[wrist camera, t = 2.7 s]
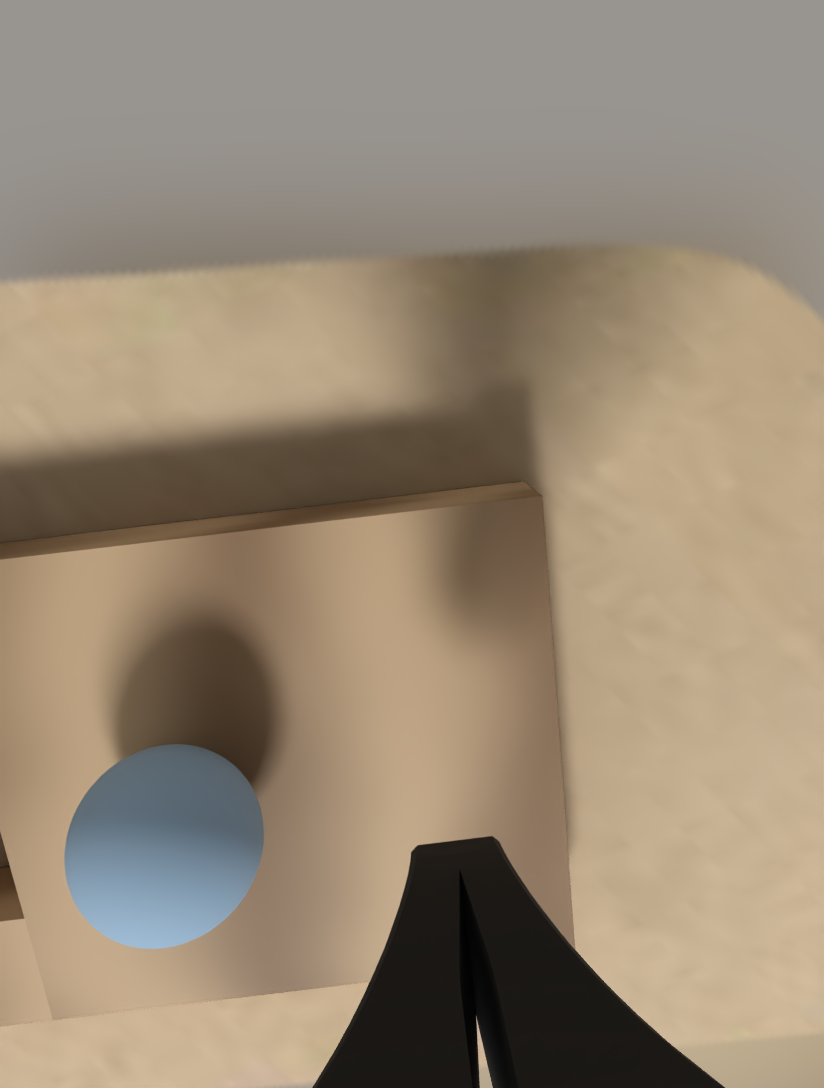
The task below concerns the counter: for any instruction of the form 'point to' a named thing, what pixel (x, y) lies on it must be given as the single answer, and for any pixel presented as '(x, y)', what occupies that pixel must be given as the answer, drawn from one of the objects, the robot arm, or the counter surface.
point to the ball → (164, 846)
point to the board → (280, 727)
